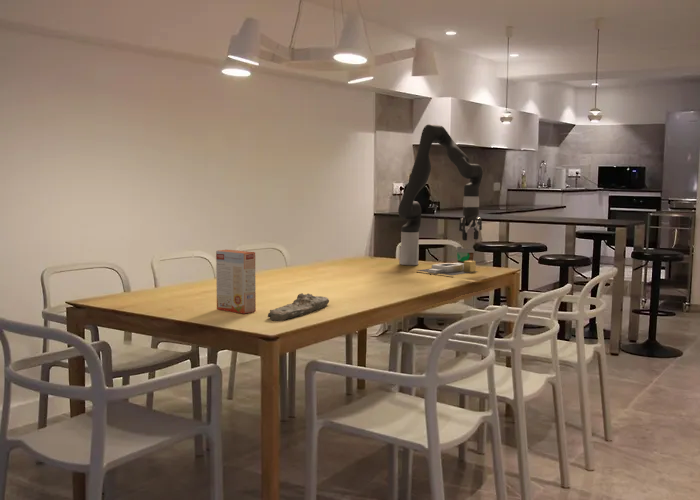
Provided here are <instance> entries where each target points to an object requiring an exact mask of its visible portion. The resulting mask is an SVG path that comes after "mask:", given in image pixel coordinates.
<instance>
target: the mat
mask: <svg viewBox="0 0 700 500" xmlns="http://www.w3.org/2000/svg"><path fill="white" fill-rule="evenodd" d="M428 269H429V268H424V269H417V270H416V271H415V272H416V273H418V274H423V275H425V274H426V275H433V276H438V277H439V276H440V277H446V278H452V276H458V275H464V274H473V273H479V271H476V270H475V272H464V270H463V271H459V272H451V273H437V274H436V273H429V272H428ZM430 269H432V267H431V268H430Z"/></svg>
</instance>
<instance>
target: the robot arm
mask: <svg viewBox="0 0 700 500" xmlns="http://www.w3.org/2000/svg"><path fill="white" fill-rule="evenodd" d="M433 144H439V145H440V146H442V148H444V149H445V151H446V155H447V157H448V159H449V160H450V161H451V162H452V163H453V164H454V166H455V167H456V169H457V170H458V172H459V174H460V175H461V176H462V177H463V178H464V179H469V182H468V183H466V184H465V185H464V187H463V201H462V204H463V205H462V216H464V218H460V219H459V226H458V227H459V228H458V229H459V230H458V232H461V233H462V234H461V236H462V238H461V239H462V241H468V232H469V231H468V230H469V229H470V228H472V229H473V239H474V240H478V239H479V232H480V231H482V230H483V225H482V224H483V223H482V222H483V221H482V219H483V218H482V217H479V216H480V197H479V196H480V195H479V194H480V185H481V182H482V178H483V175H484V173H483V172H484V171H483V167H482V166H481V165H480V164H478V163H470V158H469V157H468V155H467V154H466V153H465V152H464V151H463V150H462V149H460V147H459V146H458V145H457V144H456V143H455V141H454V139H453V138H452V136H451V135H450V134H449V132H448V131H447V130H446V128H445V127H444V126H443V125H441V124H429V123H428V124H426V125H425V126H424V127H423V129H422V131H421V135H420V139H419V145H418V149H417V153H416V156H415V160H414V163H413V166H412V169H411V172H410V176H409V179H408V182H407V185H406V188H405V191H404V193H403V196H402V198H401V200H400V203H399V205H398V210H397V211H398V213H397V214H398V217H399V218H400V219H403V220H407V222H406V223H405V224H403V225H402V226H401V227H400V231H401V232H400V237H401V238H400V245H399V257H398V258H399V265H403V266H417V265H419V249H420V247H419V245H420V244H419V242H420V227H421V223H422V222H421V221H422V207H421V204H420V203H419V201H415V199H416V197H417V195H418V194H419V192H420V191H421V190H423V188H424V187H425V186H426V184H427V183H428V180H429V177H430V174H431V172H432V164H431V159H430V158H431V157H430V151H431V147H432V145H433Z"/></svg>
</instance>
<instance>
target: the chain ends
mask: <svg viewBox="0 0 700 500" xmlns="http://www.w3.org/2000/svg"><path fill="white" fill-rule="evenodd" d="M431 268H432V269H431ZM431 268H427V269H428V272H427V273H430V274H437V275H438V273H451V272H459V271H463V270H464V263H458V262H453V263H452V262H445V263H437V264H431Z"/></svg>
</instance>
